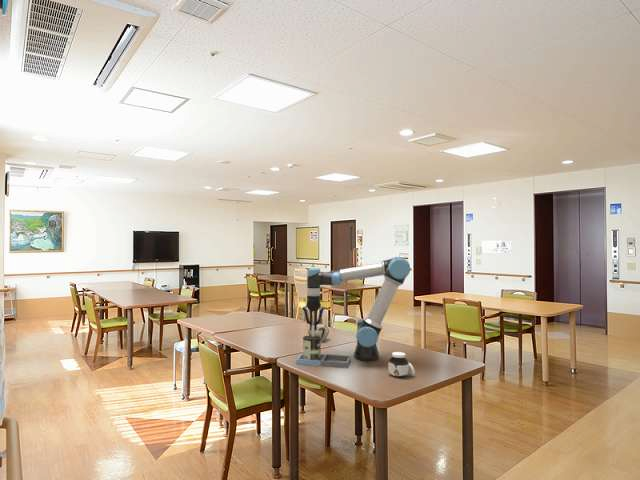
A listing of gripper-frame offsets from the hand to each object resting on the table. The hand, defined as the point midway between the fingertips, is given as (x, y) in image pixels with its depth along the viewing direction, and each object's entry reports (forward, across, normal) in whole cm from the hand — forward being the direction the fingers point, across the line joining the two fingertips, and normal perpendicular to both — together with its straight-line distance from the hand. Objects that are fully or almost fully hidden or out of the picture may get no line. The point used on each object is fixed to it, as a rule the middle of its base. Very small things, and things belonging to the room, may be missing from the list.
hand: (313, 336), depth 240 cm
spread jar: (+15, -50, +14) cm, 54 cm away
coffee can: (+15, +1, 0) cm, 15 cm away
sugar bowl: (+15, +7, -53) cm, 56 cm away
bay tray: (+15, -6, 0) cm, 16 cm away
